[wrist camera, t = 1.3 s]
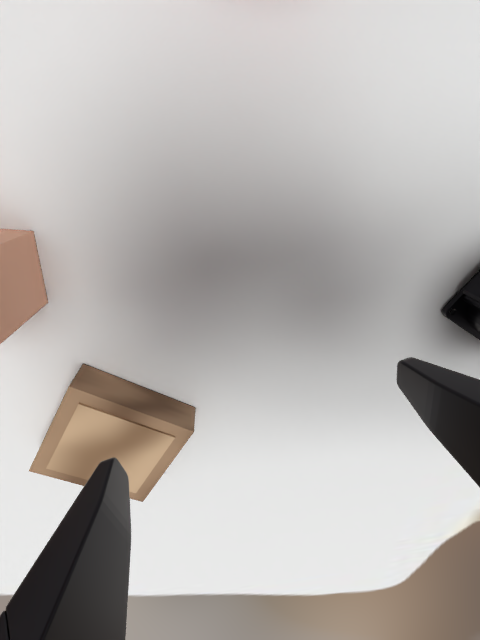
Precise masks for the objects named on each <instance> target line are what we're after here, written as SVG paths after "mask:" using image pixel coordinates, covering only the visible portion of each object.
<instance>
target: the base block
mask: <svg viewBox="0 0 480 640" xmlns="http://www.w3.org/2000/svg"><path fill="white" fill-rule="evenodd" d="M194 422H195V407H192V406H190V405H187V404H185V403H182V402H180V401H177V400H175V399H172V398H170V397H167V396H164V395H162V394H159V393H157V392H154V391H152V390H149V389H147V388H144V387H141V386H139V385H136V384H134V383H131V382H129V381H126V380H124V379H121V378H119V377H116V376H113V375H111V374H108V373H106V372H103V371H101V370H98V369H96V368H93V367H90V366H88V365H85V364H83V365H82V366H81V368H80V370H79V371H78V373H77V374H76V376H75V378H74V379H73V381H72V382H71V384H70V386H69V387H68V390H67V392H66V394H65V396H64V398H63V400H62V402H61V404H60V406H59V409H58V411H57V413H56V415H55V417H54V419H53V421H52V423H51V425H50V427H49V430H48V432H47V434H46V436H45V438H44V440H43V442H42V444H41V446H40V449H39V451H38V453H37V455H36V457H35V459H34V461H33V463H32V465H31V467H30V470H29V471H31V472H34V473H38V474H42V475H46V476H49V477H53V478H57V479H60V480H64V481H68V482H71V483H75V484H79V485H83V486H85V484H86V483H87V481H88V480H89V478H90V477H91V475H92V474H93V472H94V471H95V469H96V467H97V466H98V464H99V463H100V462H101V461H104V460H107V459H110V458H112V457H115V458H117V459H118V461H119V462H120V464H121V465H122V467H123V468H124V470H125V471H126V473H127V475H128V479H129V496H130V498H131V499H134V500H138V501H142V502H143V501H144V499H145V498H146V497H147V495H148V494H149V493H150V491H151V490H152V488H153V487H154V486H155V484H156V483H157V482H158V480H159V479H160V478H161V476H162V475H163V473H164V472H165V471H166V469H167V468H168V467H169V465H170V464H171V462H172V461H173V460H174V458H175V457H176V456H177V454H178V453H179V451H180V450H181V449H182V447H183V446H184V445H185V443H186V442H187V441H188V439H189V438H190V436H191V435H192V434H193V432H194Z"/></svg>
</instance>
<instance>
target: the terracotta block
mask: <svg viewBox="0 0 480 640" xmlns="http://www.w3.org/2000/svg"><path fill="white" fill-rule="evenodd" d="M47 303H48V300H47V295H46V290H45V285H44V280H43V276H42V271H41V266H40V261H39V256H38V251H37V246H36V241H35V237H34V232H33V231H25V230H11V229H0V344H1V343H2V342H3V341H4V340H6V339H7V338H8V337H9V336H10V335H11V334H12V333H14V332H15V331H16V330H17V329H18V328H19V327H21V326H22V325H23V324H24V323H25V322H26V321H27V320H29V319H30V318H31V317H32V316H33V315H34V314H35V313H37V312H38V311H39V310H40V309H41V308H42V307H44V306H45V305H46V304H47Z"/></svg>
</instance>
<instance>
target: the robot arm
mask: <svg viewBox="0 0 480 640" xmlns="http://www.w3.org/2000/svg"><path fill="white" fill-rule="evenodd" d="M451 310H452V311H451ZM450 311H451V312H450ZM449 312H450V313H449ZM442 314H443V315H444V316H445V317H447V318H448V319H450V320H451V321H453V322H454V323H456V324H457V325H459V326H460V327H461V328H463V329H464V330H466V331H467V332H469V333H470V334H472V335H473V336H475V337H476V338H478V339H479V340H480V270H479V272H478V273H477V274H476V275H475V276H474V277H473V278H472V279H471V280H470V281H469V282H468V283H467V284H466V285H465V286H464V287H463V288H462V289H461V290H460V291H459V292H458V293H457V294H456V296H455V297H454V298H453V299H452V300H451V301H450V302H449V303H448V304H447V305H446V306H445V307H444V308H443V311H442ZM397 384H398V386H399V388H400V389H401V391H402V392H403V394H404V395H405V396H406V398H407V399H408V401H409V402H410V403H411V405H412V406H413V408H414V409H415V410H416V412H417V413H418V415H419V416H420V417H421V419H422V420H423V422H424V423H425V424H426V426H427V427H428V428H429V429H430V431H431V432H432V433H433V434H434V435H435V437H436V438H437V439H438V440H439V441H440V442H441V443H442V445H443V446H444V447H445V448H446V449H447V450H448V451H449V453H450V454H451V455H452V456H453V457H454V458H455V459H456V461H457V462H458V463H459V464H460V465H461V466H462V467H463V469H464V470H465V471H466V472H467V473H468V474H469V475H470V477H471V478H472V479H473V480H474V481H475V482H476V483H477V485H478V486H479V487H480V380H479V379H476V378H473V377H470V376H467V375H464V374H461V373H458V372H455V371H452V370H449V369H446V368H443V367H440V366H437V365H434V364H431V363H428V362H425V361H422V360H419V359H416V358H412V357H410V358H406V359H404V360H401V361H399V362H398V365H397ZM130 550H131V518H130V496H129V479H128V475H127V473H126V471H125V470H124V468H123V467H122V465H121V464H120V462H119V461H118V459H117V458H115V457H112V458H110V459H107V460H104V461H101V462H100V463H99V464H98V466H97V467H96V469H95V471H94V472H93V474H92V475H91V477H90V478H89V480H88V481H87V483H86V484H85V486H84V487H83V489H82V491H81V492H80V494H79V495H78V497H77V498H76V500H75V501H74V503H73V504H72V506H71V508H70V509H69V511H68V512H67V514H66V515H65V517H64V518H63V520H62V521H61V523H60V524H59V526H58V528H57V529H56V531H55V532H54V534H53V535H52V537H51V538H50V540H49V541H48V543H47V545H46V546H45V548H44V549H43V551H42V552H41V554H40V555H39V557H38V558H37V560H36V561H35V563H34V565H33V566H32V568H31V569H30V571H29V572H28V574H27V575H26V577H25V578H24V580H23V582H22V583H21V585H20V586H19V588H18V589H17V591H16V592H15V594H14V595H13V597H12V599H11V600H10V602H9V603H8V605H7V606H6V611H3V612H2V614H1V615H0V640H125V635H126V617H127V601H128V584H129V567H130Z"/></svg>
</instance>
